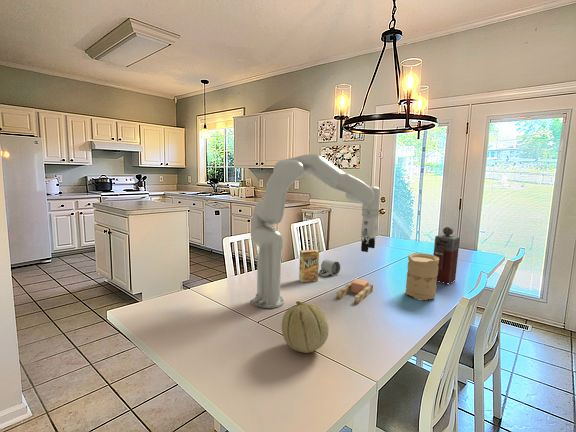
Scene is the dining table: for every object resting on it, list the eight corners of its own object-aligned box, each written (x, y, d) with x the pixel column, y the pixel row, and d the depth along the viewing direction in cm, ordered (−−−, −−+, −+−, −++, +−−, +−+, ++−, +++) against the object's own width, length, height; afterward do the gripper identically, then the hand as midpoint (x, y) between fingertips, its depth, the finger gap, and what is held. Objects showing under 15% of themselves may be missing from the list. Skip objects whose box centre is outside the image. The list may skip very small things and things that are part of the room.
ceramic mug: (328, 270, 180) (329, 256, 178) (340, 274, 174) (341, 260, 172) (315, 274, 173) (315, 260, 172) (327, 278, 167) (327, 264, 166)
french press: (429, 281, 166) (434, 227, 162) (437, 276, 174) (442, 224, 170) (447, 286, 160) (453, 229, 156) (455, 280, 168) (461, 227, 163)
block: (363, 294, 147) (363, 285, 146) (350, 291, 150) (351, 282, 149) (368, 290, 152) (368, 281, 151) (355, 287, 155) (356, 278, 154)
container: (428, 303, 139) (432, 262, 136) (400, 295, 147) (403, 256, 144) (439, 295, 148) (443, 257, 145) (412, 288, 156) (415, 251, 153)
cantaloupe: (323, 366, 93) (325, 317, 91) (274, 357, 97) (275, 310, 95) (331, 340, 108) (333, 297, 105) (288, 333, 111) (289, 291, 109)
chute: (358, 304, 136) (358, 297, 136) (336, 298, 142) (336, 291, 141) (372, 291, 151) (373, 284, 151) (352, 286, 157) (353, 280, 156)
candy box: (301, 282, 160) (302, 252, 158) (298, 279, 164) (299, 250, 162) (318, 281, 163) (319, 251, 160) (315, 278, 167) (316, 249, 164)
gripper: (371, 216, 143) (369, 255, 145) (384, 211, 157) (381, 247, 160) (355, 214, 147) (353, 252, 149) (368, 210, 161) (366, 245, 164)
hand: (367, 249), depth 155 cm, fingers open, 8 cm apart
